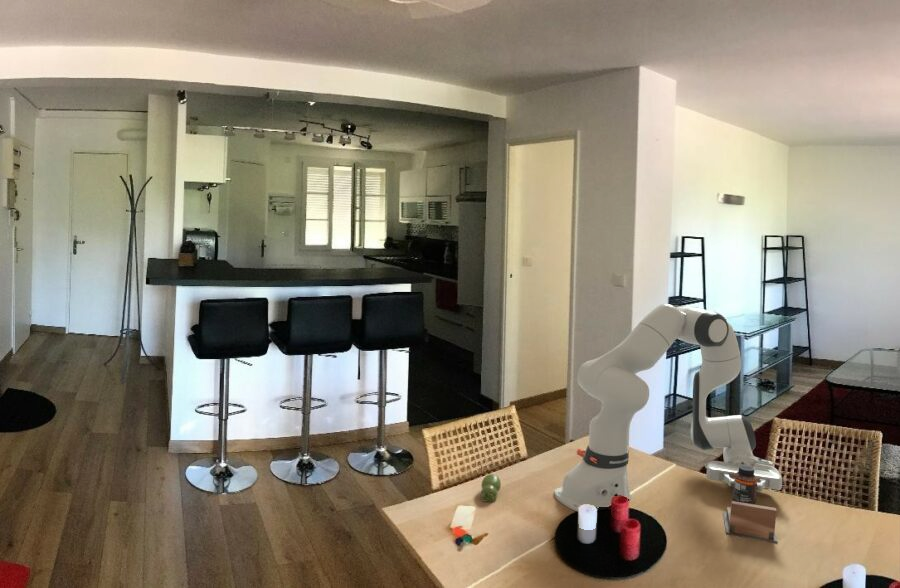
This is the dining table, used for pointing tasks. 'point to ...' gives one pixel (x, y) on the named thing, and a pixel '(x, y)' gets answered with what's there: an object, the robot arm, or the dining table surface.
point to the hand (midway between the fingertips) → (745, 486)
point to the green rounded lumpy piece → (490, 487)
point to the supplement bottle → (745, 485)
